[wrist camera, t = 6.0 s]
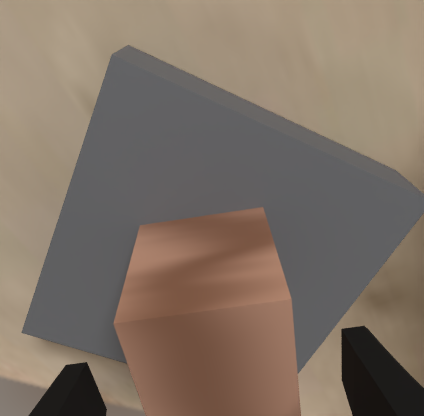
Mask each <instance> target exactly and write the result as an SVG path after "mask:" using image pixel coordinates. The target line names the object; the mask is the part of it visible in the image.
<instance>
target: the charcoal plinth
mask: <svg viewBox="0 0 424 416" xmlns="http://www.w3.org/2000/svg"><path fill="white" fill-rule="evenodd" d="M260 207H263V208H264V212H265V215H266V218H267V221H268V224H269V228H270V231H271V234H272V237H273V241H274V244H275V247H276V250H277V253H278V257H279V260H280V263H281V266H282V270H283V273H284V276H285V279H286V283H287V286H288V289H289V292H290V295H291V299H292V310H293V322H294V335H295V347H296V360H297V372H298V373H299V372H300V371H301V369H302V368H303V367H304V366H305V364H306V363H307V362H308V360H309V359H310V358H311V357H312V355H313V354H314V353H315V351H316V350H317V349H318V348H319V346H320V345H321V344H322V342H323V341H324V340H325V339H326V337H327V336H328V335H329V334H330V332H331V331H332V330H333V328H334V327H335V326H336V325H337V323H338V322H339V321H340V319H341V318H342V317H343V316H344V314H345V313H346V312H347V310H348V309H349V308H350V307H351V305H352V304H353V303H354V301H355V300H356V299H357V298H358V296H359V295H360V294H361V293H362V291H363V290H364V289H365V287H366V286H367V285H368V284H369V282H370V281H371V280H372V278H373V277H374V276H375V275H376V273H377V272H378V271H379V269H380V268H381V267H382V266H383V264H384V263H385V262H386V261H387V259H388V258H389V257H390V255H391V254H392V253H393V252H394V250H395V249H396V248H397V246H398V245H399V244H400V243H401V241H402V240H403V239H404V237H405V236H406V235H407V234H408V232H409V231H410V230H411V228H412V227H413V226H414V225H415V223H416V222H417V221H418V220H419V218H420V217H421V216H422V214H423V213H424V194H423V193H422V192H421V191H420V190H418V189H417V188H416V187H415V186H414V185H413V184H411V183H410V182H409V181H408V180H407V179H405V178H404V177H403V176H402V175H401V174H400V173H398V172H397V171H396V170H394V169H392V168H390V167H388V166H385V165H383V164H381V163H379V162H377V161H375V160H373V159H370V158H368V157H366V156H364V155H362V154H360V153H358V152H356V151H353V150H351V149H349V148H347V147H345V146H343V145H341V144H338V143H336V142H334V141H332V140H330V139H328V138H326V137H324V136H321V135H319V134H317V133H315V132H313V131H311V130H309V129H306V128H304V127H302V126H300V125H298V124H296V123H294V122H291V121H289V120H287V119H285V118H283V117H281V116H279V115H277V114H274V113H272V112H270V111H268V110H266V109H264V108H262V107H259V106H257V105H255V104H253V103H251V102H249V101H247V100H245V99H242V98H240V97H238V96H236V95H234V94H232V93H230V92H227V91H225V90H223V89H221V88H219V87H217V86H215V85H212V84H210V83H208V82H206V81H204V80H202V79H200V78H198V77H195V76H193V75H191V74H189V73H187V72H185V71H183V70H180V69H178V68H176V67H174V66H172V65H170V64H168V63H166V62H163V61H161V60H159V59H157V58H155V57H153V56H151V55H148V54H146V53H144V52H142V51H140V50H138V49H136V48H133V47H131V46H129V45H127V46H126V47H124V48H122V49H120V50H119V51H117V52H115V53H114V54H112V56H111V59H110V62H109V65H108V68H107V71H106V74H105V77H104V80H103V83H102V87H101V90H100V93H99V96H98V99H97V102H96V105H95V108H94V111H93V114H92V117H91V120H90V123H89V127H88V130H87V133H86V136H85V139H84V142H83V145H82V148H81V151H80V154H79V157H78V160H77V163H76V167H75V170H74V173H73V176H72V179H71V182H70V185H69V188H68V191H67V194H66V197H65V200H64V203H63V207H62V210H61V213H60V216H59V219H58V222H57V225H56V228H55V231H54V234H53V237H52V240H51V243H50V247H49V250H48V253H47V256H46V259H45V262H44V265H43V268H42V271H41V274H40V277H39V280H38V283H37V287H36V290H35V293H34V296H33V299H32V302H31V305H30V308H29V311H28V314H27V317H26V320H25V323H24V327H23V330H22V333H24V334H27V335H31V336H34V337H38V338H41V339H45V340H48V341H52V342H55V343H58V344H62V345H65V346H69V347H72V348H76V349H79V350H82V351H86V352H89V353H93V354H96V355H100V356H103V357H107V358H110V359H113V360H117V361H120V362H124V363H127V361H126V358H125V355H124V352H123V349H122V347H121V344H120V341H119V338H118V335H117V333H116V330H115V327H114V324H113V323H114V319H115V316H116V312H117V308H118V305H119V301H120V297H121V294H122V290H123V286H124V282H125V279H126V275H127V271H128V268H129V264H130V260H131V257H132V253H133V249H134V245H135V242H136V238H137V234H138V231H139V227H140V225H146V224H152V223H159V222H166V221H173V220H179V219H186V218H193V217H199V216H206V215H213V214H220V213H226V212H233V211H240V210H246V209H253V208H260Z"/></svg>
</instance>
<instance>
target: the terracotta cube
mask: <svg viewBox="0 0 424 416" xmlns="http://www.w3.org/2000/svg"><path fill="white" fill-rule="evenodd" d="M113 324H114V327H115V330H116V333H117V335H118V338H119V341H120V344H121V347H122V349H123V352H124V355H125V358H126V361H127V364H128V366H129V369H130V372H131V375H132V378H133V380H134V383H135V386H136V389H137V392H138V394H139V397H140V400H141V403H142V406H143V409H144V411H145V414H146V416H301V410H300V398H299V385H298V372H297V360H296V347H295V335H294V322H293V310H292V299H291V295H290V292H289V289H288V286H287V283H286V279H285V276H284V273H283V270H282V266H281V263H280V260H279V257H278V253H277V250H276V247H275V244H274V241H273V237H272V234H271V231H270V228H269V224H268V221H267V218H266V215H265V212H264V208H263V207H260V208H253V209H246V210H240V211H233V212H226V213H220V214H213V215H206V216H199V217H193V218H186V219H179V220H173V221H166V222H159V223H152V224H146V225H140V227H139V231H138V234H137V238H136V242H135V245H134V249H133V253H132V257H131V260H130V264H129V268H128V271H127V275H126V279H125V282H124V286H123V290H122V294H121V297H120V301H119V305H118V308H117V312H116V316H115V319H114V323H113Z"/></svg>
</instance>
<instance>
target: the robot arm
mask: <svg viewBox="0 0 424 416" xmlns="http://www.w3.org/2000/svg"><path fill="white" fill-rule="evenodd" d="M342 382H343V385H344V389H345V392H346V395H347V399H348V402H349V405H350V408H351V411H352V415H353V416H424V388H423V387H422V386H421V385H420V384H419V383H418V382H417V381H416V380H415V379H414V378H413V377H412V376H411V375H410V374H409V373H408V372H407V371H406V370H405V369H404V368H403V367H402V366H401V365H400V364H399V363H398V362H397V361H396V360H395V359H394V357H393V356H392V355H391V354H390V353H389V352H388V351H387V350H386V349H385V348H384V347H383V346H382V344H381V343H380V342H379V341H378V340H377V339H376V338H375V336H374V335H373V334H372V333H371V332H370V331H369V330H368V329H367V328H366V327H365V326H360V327H352V328H345V329H342ZM106 410H107V409H106V406H105V404H104V402H103V399H102V397H101V394H100V392H99V390H98V387H97V385H96V383H95V380H94V378H93V376H92V373H91V371H90V368H89V366H88V364H87V362H85V363H77V364H70V365H66V366H65V367H64V368H63V370H62V371H61V372H60V374H59V375H58V376H57V378H56V379H55V380H54V382H53V383H52V385H51V386H50V387H49V389H48V390H47V391H46V393H45V394H44V396H43V397H42V398H41V400H40V401H39V402H38V404H37V405H36V406H35V408H34V409H33V410H32V412H31V413H30V415H29V416H106Z"/></svg>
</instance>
